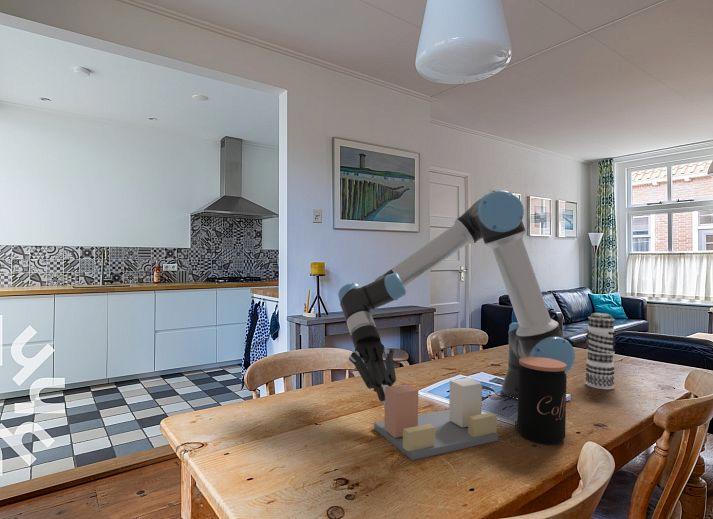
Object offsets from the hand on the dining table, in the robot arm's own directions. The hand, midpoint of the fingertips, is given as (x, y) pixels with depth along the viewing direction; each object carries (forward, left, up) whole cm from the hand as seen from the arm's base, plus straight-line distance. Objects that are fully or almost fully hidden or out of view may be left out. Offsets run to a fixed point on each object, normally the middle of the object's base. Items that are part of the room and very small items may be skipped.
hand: (392, 412), depth 97 cm
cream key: (-19, 0, -3) cm, 19 cm away
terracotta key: (-1, +4, -3) cm, 5 cm away
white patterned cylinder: (-83, -28, -5) cm, 88 cm away
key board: (-10, +2, -5) cm, 11 cm away
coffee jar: (-36, +6, -5) cm, 37 cm away
